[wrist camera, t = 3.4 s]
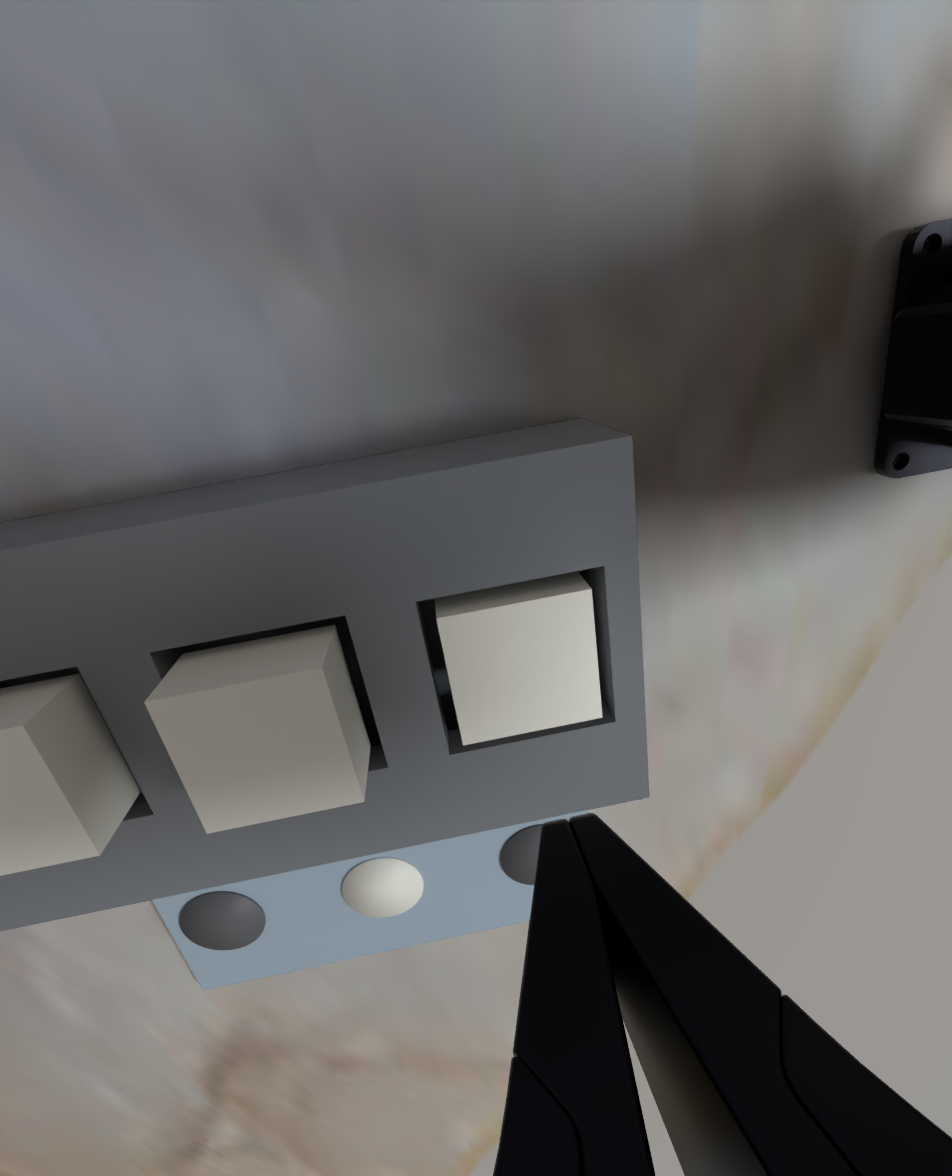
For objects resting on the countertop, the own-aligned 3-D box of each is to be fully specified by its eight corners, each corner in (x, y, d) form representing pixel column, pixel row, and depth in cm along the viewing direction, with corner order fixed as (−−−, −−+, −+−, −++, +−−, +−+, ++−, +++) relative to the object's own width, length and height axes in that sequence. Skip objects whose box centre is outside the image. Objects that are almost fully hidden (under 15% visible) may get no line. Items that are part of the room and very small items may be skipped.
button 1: (79, 673, 13) (22, 725, 11) (140, 791, 14) (99, 855, 12) (-78, 703, 13) (-163, 761, 11) (-1, 819, 14) (-64, 888, 12)
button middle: (335, 624, 13) (322, 667, 11) (370, 745, 14) (364, 801, 13) (182, 653, 13) (144, 702, 11) (233, 773, 14) (206, 834, 12)
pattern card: (580, 764, 20) (584, 773, 19) (594, 897, 23) (598, 908, 22) (136, 854, 19) (129, 866, 19) (206, 979, 22) (201, 992, 22)
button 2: (568, 560, 14) (591, 588, 12) (580, 676, 16) (602, 717, 14) (433, 585, 14) (436, 618, 12) (457, 700, 16) (463, 745, 14)
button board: (579, 418, 15) (632, 435, 12) (603, 713, 19) (649, 797, 15) (-82, 537, 15) (-250, 596, 11) (83, 817, 18) (0, 931, 15)
